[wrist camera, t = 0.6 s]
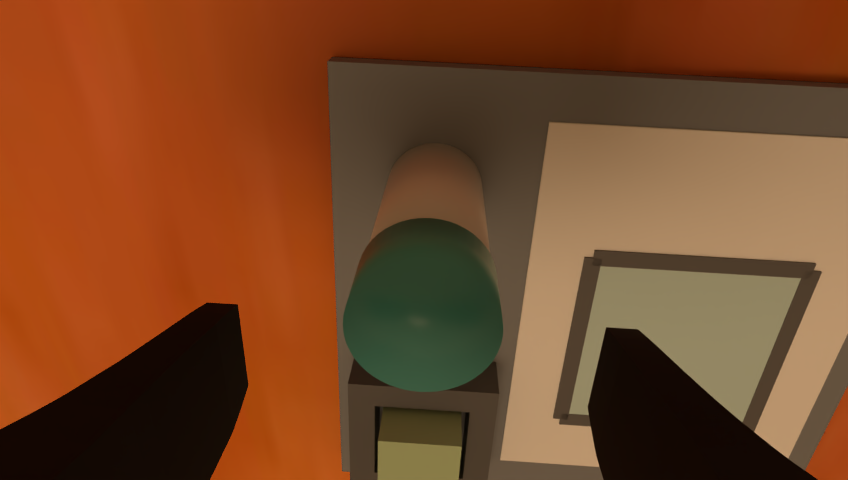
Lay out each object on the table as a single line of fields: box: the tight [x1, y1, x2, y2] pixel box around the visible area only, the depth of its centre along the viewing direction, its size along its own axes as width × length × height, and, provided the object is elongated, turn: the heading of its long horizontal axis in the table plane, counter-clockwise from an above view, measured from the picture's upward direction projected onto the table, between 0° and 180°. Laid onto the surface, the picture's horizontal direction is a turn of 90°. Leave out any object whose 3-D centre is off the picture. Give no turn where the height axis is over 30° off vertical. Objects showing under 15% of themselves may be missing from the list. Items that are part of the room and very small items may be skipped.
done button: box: [378, 407, 462, 480], centre depth 22 cm, size 3×3×2 cm
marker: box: [343, 143, 503, 392], centre depth 15 cm, size 3×3×8 cm
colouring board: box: [327, 57, 848, 480], centre depth 21 cm, size 20×18×3 cm
